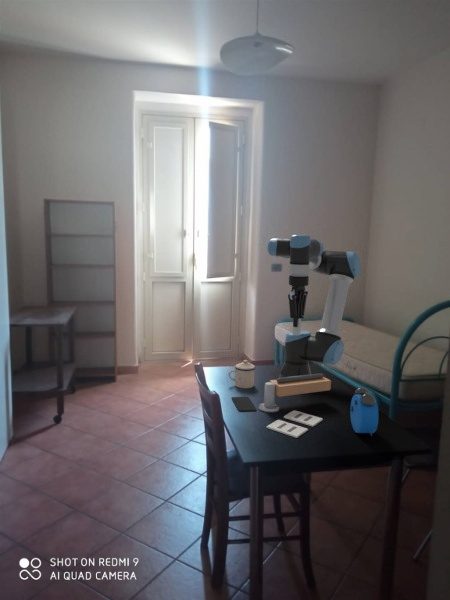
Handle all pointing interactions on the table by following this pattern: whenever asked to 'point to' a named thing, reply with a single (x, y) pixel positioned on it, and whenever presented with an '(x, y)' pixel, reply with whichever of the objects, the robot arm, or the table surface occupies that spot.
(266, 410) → the base
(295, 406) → the table surface
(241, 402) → the phone
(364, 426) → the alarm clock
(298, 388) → the wooden beam with rod
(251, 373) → the teacup with lid
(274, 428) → the plate
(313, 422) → the plate
